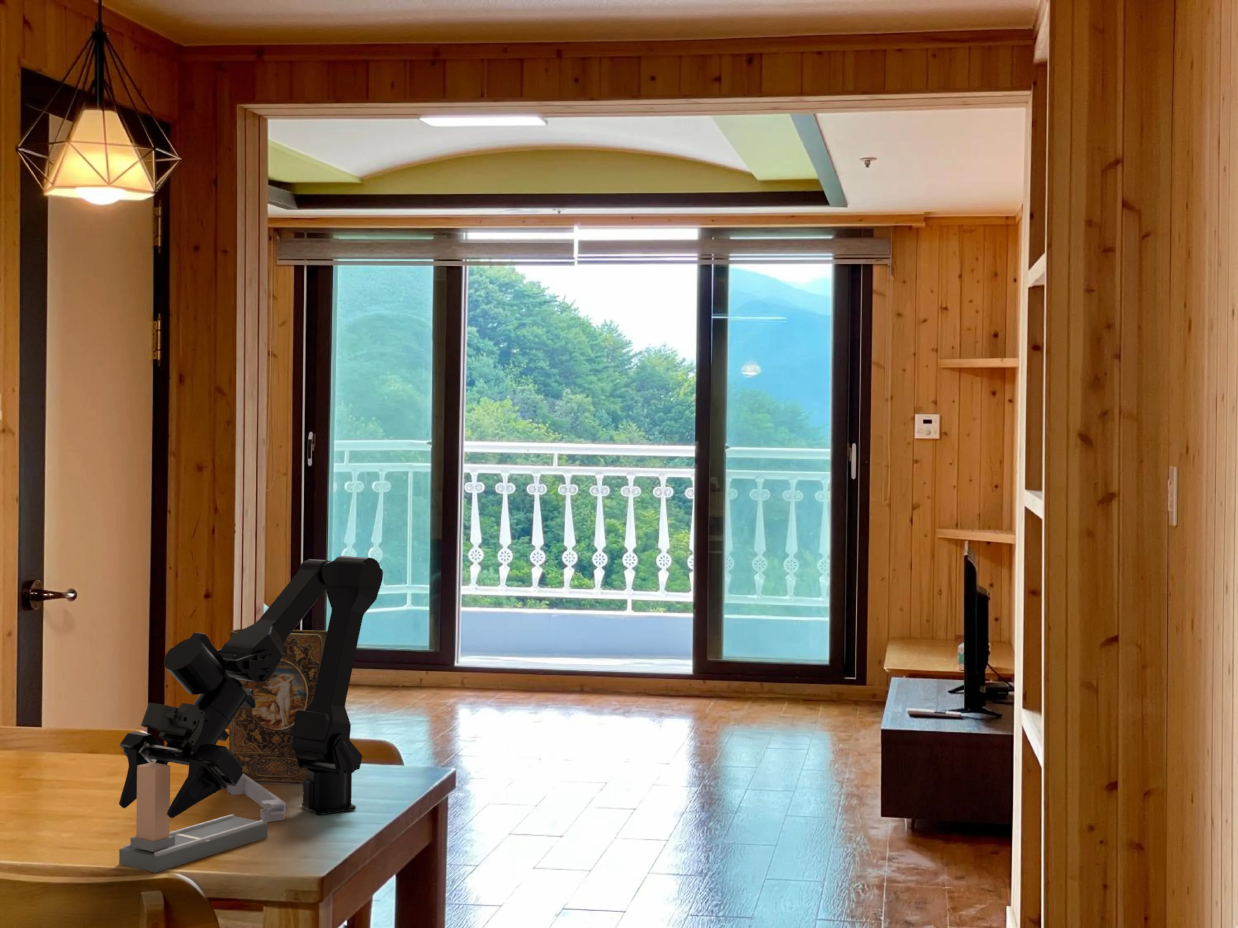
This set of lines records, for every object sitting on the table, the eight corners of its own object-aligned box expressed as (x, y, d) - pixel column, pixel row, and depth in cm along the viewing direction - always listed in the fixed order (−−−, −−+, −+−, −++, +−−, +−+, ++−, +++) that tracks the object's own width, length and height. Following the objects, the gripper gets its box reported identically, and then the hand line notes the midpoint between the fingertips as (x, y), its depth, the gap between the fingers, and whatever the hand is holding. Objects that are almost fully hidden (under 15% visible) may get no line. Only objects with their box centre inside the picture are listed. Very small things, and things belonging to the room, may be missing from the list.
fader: (152, 839, 182) (153, 760, 182) (174, 845, 180) (176, 764, 180) (130, 846, 179) (131, 765, 179) (153, 851, 177) (154, 770, 177)
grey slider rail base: (232, 829, 196) (232, 812, 196) (267, 836, 193) (267, 819, 193) (119, 863, 179) (119, 845, 179) (155, 872, 175) (155, 854, 175)
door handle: (225, 794, 218) (226, 775, 218) (243, 792, 219) (244, 773, 219) (266, 825, 199) (266, 805, 199) (285, 823, 201) (286, 802, 201)
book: (223, 781, 225) (226, 632, 225) (236, 774, 230) (238, 628, 230) (319, 785, 223) (321, 634, 223) (329, 777, 229) (332, 630, 229)
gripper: (132, 673, 187) (62, 767, 178) (228, 686, 178) (160, 786, 168) (175, 720, 194) (111, 813, 185) (270, 735, 185) (207, 834, 175)
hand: (145, 811), depth 178 cm, fingers open, 9 cm apart
